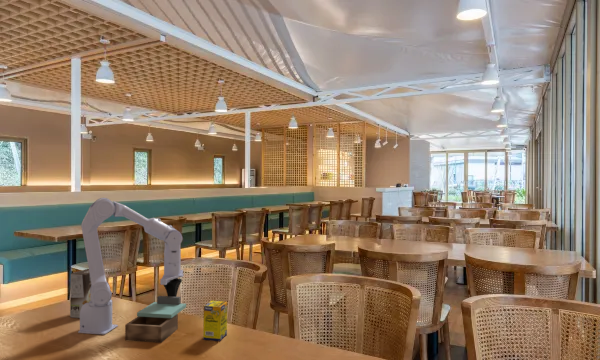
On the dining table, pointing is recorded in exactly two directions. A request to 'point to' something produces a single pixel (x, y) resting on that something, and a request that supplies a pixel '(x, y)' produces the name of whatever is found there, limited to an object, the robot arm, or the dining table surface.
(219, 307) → the supplement box
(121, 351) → the dining table surface
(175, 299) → the lid
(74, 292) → the coffee box
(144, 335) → the crate
